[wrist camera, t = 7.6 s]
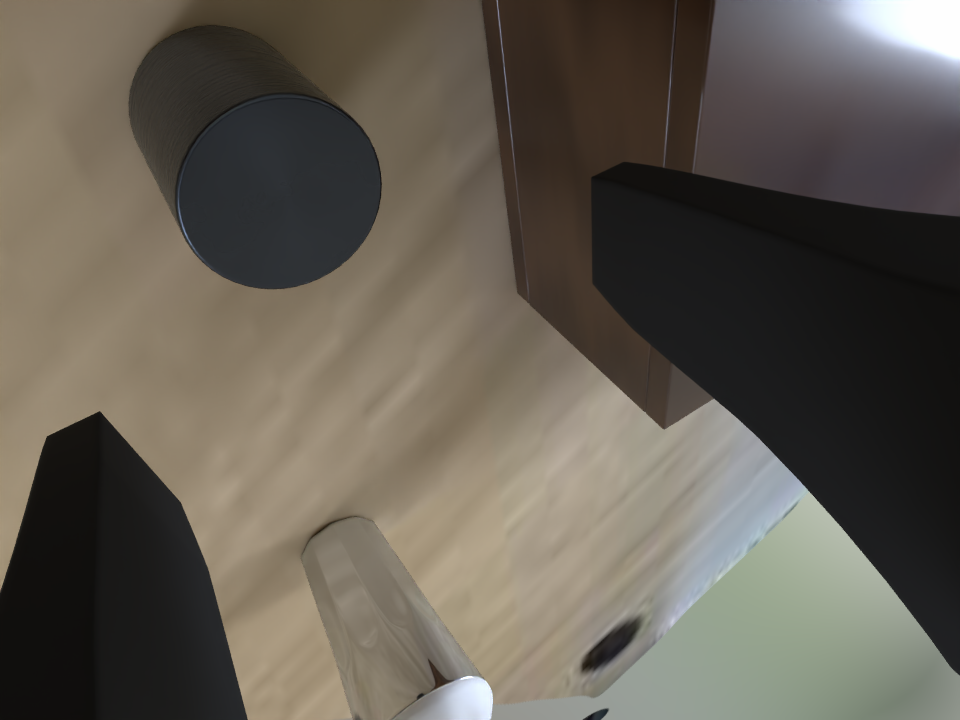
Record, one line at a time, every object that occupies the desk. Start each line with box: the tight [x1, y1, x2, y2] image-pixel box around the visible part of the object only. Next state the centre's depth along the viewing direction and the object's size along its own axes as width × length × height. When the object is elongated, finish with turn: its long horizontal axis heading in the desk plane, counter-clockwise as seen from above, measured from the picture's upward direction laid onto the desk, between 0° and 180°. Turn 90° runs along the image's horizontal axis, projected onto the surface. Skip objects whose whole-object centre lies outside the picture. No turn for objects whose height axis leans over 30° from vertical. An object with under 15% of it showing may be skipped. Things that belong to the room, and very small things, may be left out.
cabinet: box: [482, 0, 960, 429], centre depth 18 cm, size 13×12×8 cm
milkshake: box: [301, 516, 493, 720], centre depth 24 cm, size 4×5×10 cm
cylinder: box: [129, 26, 382, 289], centre depth 13 cm, size 4×4×4 cm
